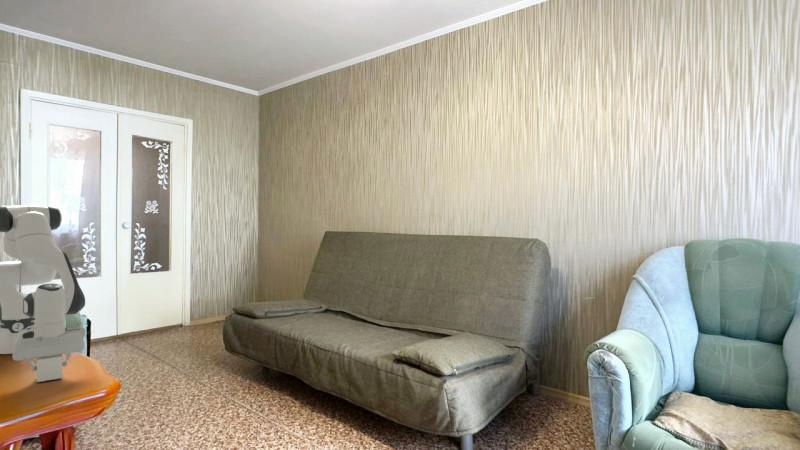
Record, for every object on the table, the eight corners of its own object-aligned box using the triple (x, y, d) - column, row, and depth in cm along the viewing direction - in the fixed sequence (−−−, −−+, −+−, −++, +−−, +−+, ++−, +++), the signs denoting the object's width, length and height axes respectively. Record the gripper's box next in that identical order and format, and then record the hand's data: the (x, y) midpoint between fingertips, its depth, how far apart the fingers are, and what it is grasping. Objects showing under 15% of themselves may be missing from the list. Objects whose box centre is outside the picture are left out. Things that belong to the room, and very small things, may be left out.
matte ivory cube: (37, 375, 158) (37, 355, 158) (61, 371, 163) (62, 351, 163) (36, 382, 153) (37, 360, 153) (62, 377, 157) (62, 357, 157)
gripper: (85, 324, 166) (84, 360, 166) (13, 331, 154) (13, 371, 154) (86, 327, 161) (85, 364, 161) (12, 335, 149) (11, 376, 149)
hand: (49, 368), depth 157 cm, fingers closed on matte ivory cube, 7 cm apart
